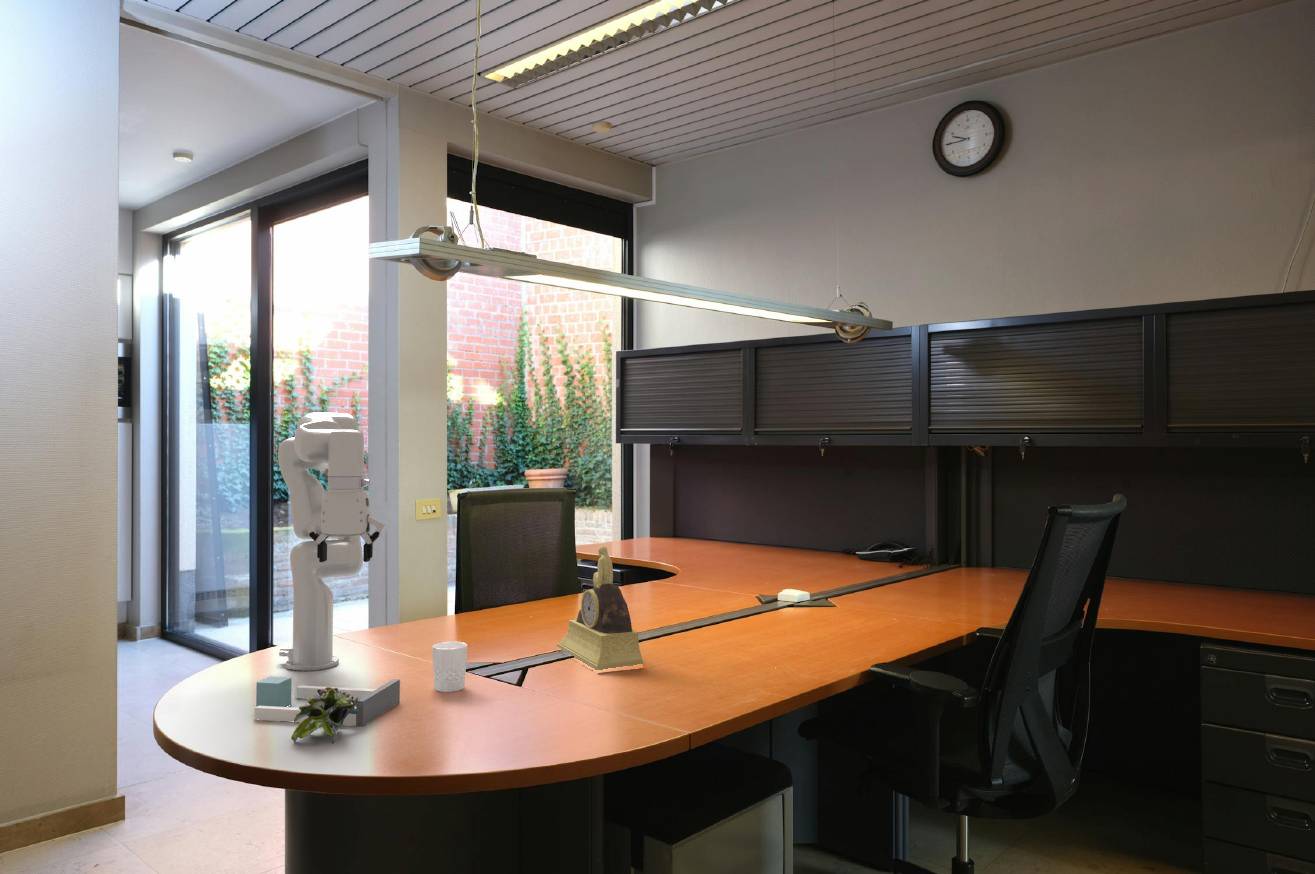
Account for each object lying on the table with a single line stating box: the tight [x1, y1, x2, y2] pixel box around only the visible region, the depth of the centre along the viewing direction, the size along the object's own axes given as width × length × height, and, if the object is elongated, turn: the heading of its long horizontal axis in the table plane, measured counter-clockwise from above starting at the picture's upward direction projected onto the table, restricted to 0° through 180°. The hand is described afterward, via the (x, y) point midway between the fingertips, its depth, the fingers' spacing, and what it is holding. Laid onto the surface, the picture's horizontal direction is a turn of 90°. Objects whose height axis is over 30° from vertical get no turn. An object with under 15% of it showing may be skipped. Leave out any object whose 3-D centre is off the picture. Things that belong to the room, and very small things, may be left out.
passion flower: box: [290, 686, 359, 744], centre depth 169 cm, size 11×11×12 cm
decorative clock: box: [556, 545, 644, 670], centre depth 235 cm, size 28×13×30 cm, turn 27°
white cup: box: [431, 641, 468, 693], centre depth 205 cm, size 8×8×10 cm
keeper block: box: [255, 675, 293, 707], centre depth 188 cm, size 5×5×6 cm
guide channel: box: [254, 678, 401, 727], centre depth 187 cm, size 24×17×5 cm
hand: (345, 561), depth 197 cm, fingers open, 9 cm apart
